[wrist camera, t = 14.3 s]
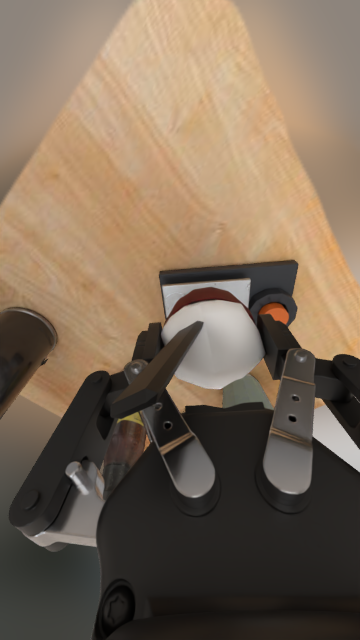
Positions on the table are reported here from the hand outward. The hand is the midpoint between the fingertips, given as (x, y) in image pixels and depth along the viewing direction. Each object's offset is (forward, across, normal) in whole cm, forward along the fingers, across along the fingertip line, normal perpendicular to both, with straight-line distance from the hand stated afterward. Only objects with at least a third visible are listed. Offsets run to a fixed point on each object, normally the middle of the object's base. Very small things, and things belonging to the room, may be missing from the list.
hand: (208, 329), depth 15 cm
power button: (+15, -10, +9) cm, 20 cm away
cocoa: (+3, 0, 0) cm, 3 cm away
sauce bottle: (+18, +12, +22) cm, 31 cm away
